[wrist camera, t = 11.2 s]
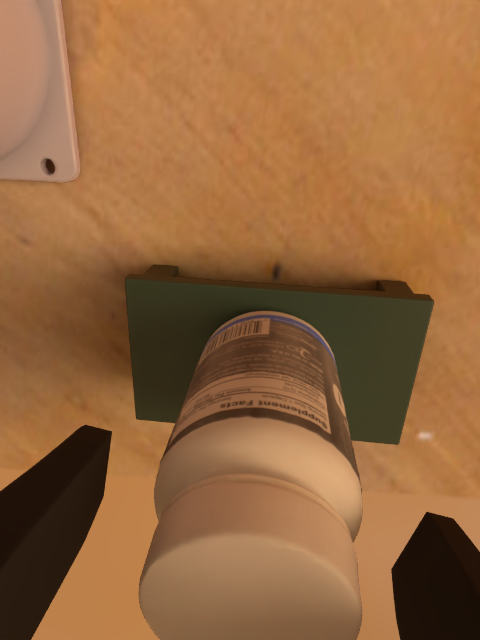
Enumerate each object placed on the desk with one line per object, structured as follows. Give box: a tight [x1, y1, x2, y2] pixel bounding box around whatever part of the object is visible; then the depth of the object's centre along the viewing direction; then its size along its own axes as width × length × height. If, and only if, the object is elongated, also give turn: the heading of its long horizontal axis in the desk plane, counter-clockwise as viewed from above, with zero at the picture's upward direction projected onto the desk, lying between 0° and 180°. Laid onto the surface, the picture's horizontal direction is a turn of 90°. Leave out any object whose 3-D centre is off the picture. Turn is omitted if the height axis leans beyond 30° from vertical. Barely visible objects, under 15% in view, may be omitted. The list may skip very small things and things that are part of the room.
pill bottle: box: [139, 311, 363, 640], centre depth 11 cm, size 5×5×8 cm
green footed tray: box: [125, 265, 434, 445], centre depth 16 cm, size 10×6×2 cm, turn 88°
